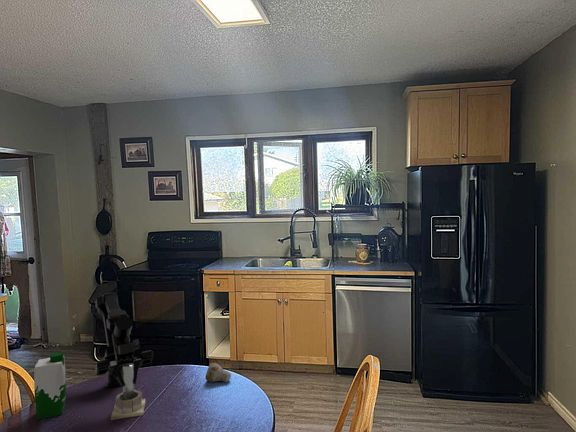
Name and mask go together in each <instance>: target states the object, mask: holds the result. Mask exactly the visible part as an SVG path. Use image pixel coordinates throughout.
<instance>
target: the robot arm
mask: <svg viewBox="0 0 576 432" xmlns="http://www.w3.org/2000/svg"><path fill="white" fill-rule="evenodd" d="M118 297H119V296H118V295H117V293H116V292H108V293H106V292H105V293H103V294H101V296H100V295H99V296H98V297H97V298H96V299H95V301H94V303H95V309H97V314H98V315H99V316H100V317H101V318H102V320H103V321H102V322H103V326H104V332H105V334H104V335H105V338H106V346H107V347H106V349H105V353H104V357H103V359H101V360H99V361H97V362H96V364H95V375H96V376H102V375H105V374H107V381H106V384H105V389H108V388H116V387H121V388H123V387H124V383H123V375H122V366H123V365H125V364H129V363H132V364H133V366H134V385H136V384H137V378H138V371H139V369H140V368H141V367H142V366H145V365H149V364H152V362H153V359H154V351H152V350H151V349H149V350H144V351H141V352H140V355H137V356H135V351H136V350H139V349H140V347H141V345H140V341H139V339H134V340H132V341H131V338H130V335H131V331H132V328H133V324H134V321H133V319H132V318H131V317H130V316H129V315H128V314H127V312H126V310H124V309H121V307H120V304H119V298H118Z"/></svg>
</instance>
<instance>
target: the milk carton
mask: <svg viewBox="0 0 576 432" xmlns="http://www.w3.org/2000/svg"><path fill="white" fill-rule="evenodd" d="M33 372H34V375H33V382H34V385H33V386H34V387H33V388H34V406H35V407H34V408H35V413H36V419H38V420H42V419H47V418H52V417H53V418H54V417H57V416H61V415H63V411H64V409H65V405H66V404H65V403H66V397H67V385H66V384H67V383H66V382H67V381H66V380H67V379H66V360H65V355H64V352H63V351H59V352H53V353H51V354H50V355H49V357H47V358H40V359H38V361H37V362H36V364H35V366H34V371H33Z"/></svg>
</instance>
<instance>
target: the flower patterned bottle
mask: <svg viewBox="0 0 576 432" xmlns="http://www.w3.org/2000/svg"><path fill="white" fill-rule="evenodd" d="M206 370H207V371H206V374H205V380H206V381H207V382H212V383H214V382H225V383H227V382H229V381H230V379H231V376H232V374H231V371H228V370H226V369H224V368H223V367H222V366H220V364H218V363H216V362H211V363H210V364H209V366H208V367H207V369H206Z"/></svg>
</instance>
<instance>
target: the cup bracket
mask: <svg viewBox="0 0 576 432" xmlns="http://www.w3.org/2000/svg"><path fill="white" fill-rule="evenodd" d="M114 403H115V404H114V407H113V410H112V412H111V416H110V421H113V420H114V421H115V420H119V419H120V420H122V419H127V418H133V417H139V416H144V413H145V406H146V398H143V393H142V391H140V390H138V389H137V390H136V389H134V398H133V399H131V400H123V392H121V393H119V394H117V395H116V397H115V400H114Z"/></svg>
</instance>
